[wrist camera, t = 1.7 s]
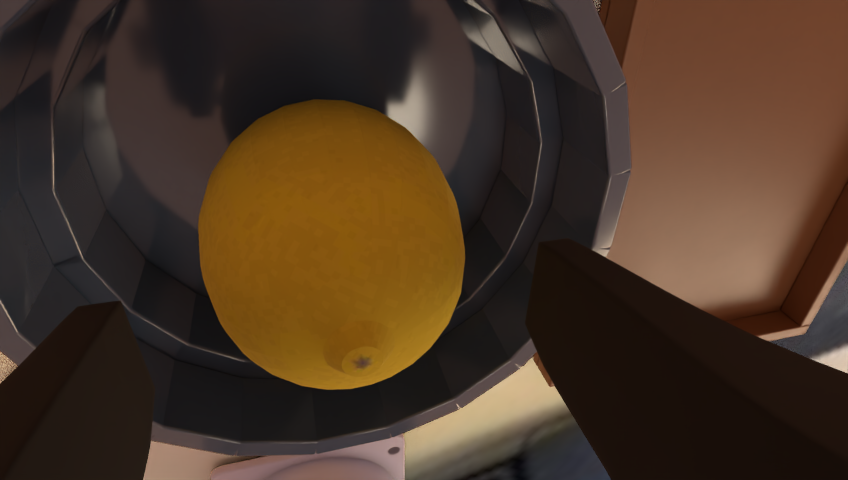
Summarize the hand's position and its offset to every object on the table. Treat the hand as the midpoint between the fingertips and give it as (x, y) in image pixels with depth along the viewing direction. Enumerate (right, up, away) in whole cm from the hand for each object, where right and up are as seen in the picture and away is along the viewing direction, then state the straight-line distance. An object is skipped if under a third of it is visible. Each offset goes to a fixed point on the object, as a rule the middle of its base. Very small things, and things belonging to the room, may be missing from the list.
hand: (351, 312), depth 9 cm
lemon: (-2, +4, +6) cm, 7 cm away
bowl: (-2, +4, +6) cm, 7 cm away
